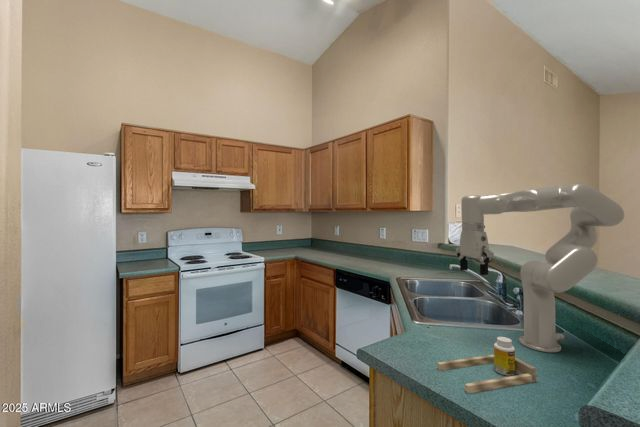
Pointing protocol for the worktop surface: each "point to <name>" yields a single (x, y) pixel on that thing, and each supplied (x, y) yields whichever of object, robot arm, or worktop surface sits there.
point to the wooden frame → (521, 368)
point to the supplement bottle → (504, 356)
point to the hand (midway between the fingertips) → (473, 272)
